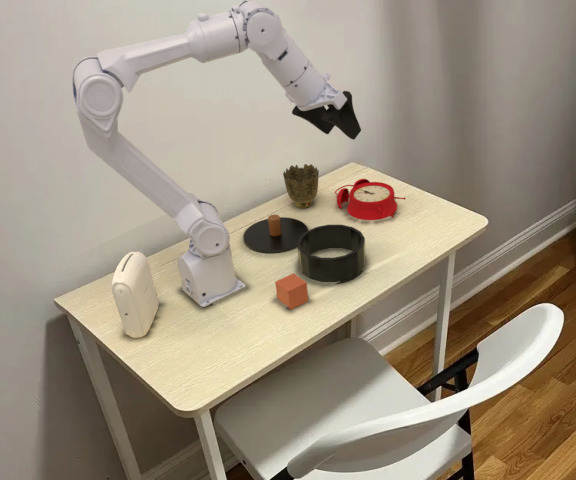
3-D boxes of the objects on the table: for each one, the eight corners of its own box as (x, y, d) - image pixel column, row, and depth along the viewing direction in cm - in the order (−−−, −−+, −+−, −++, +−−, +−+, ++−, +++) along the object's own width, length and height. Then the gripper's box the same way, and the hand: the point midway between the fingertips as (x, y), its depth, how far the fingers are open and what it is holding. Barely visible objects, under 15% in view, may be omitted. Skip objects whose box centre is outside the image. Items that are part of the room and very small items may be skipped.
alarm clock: (377, 212, 134) (324, 177, 141) (372, 237, 139) (321, 202, 146) (412, 193, 139) (359, 159, 145) (406, 217, 144) (355, 184, 150)
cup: (322, 197, 149) (319, 162, 144) (320, 214, 144) (317, 178, 138) (288, 198, 150) (284, 164, 145) (285, 215, 145) (281, 180, 139)
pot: (326, 292, 122) (324, 267, 119) (287, 265, 130) (284, 240, 127) (378, 267, 127) (378, 241, 123) (338, 242, 135) (336, 217, 131)
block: (290, 310, 119) (288, 291, 117) (277, 300, 122) (274, 281, 119) (308, 301, 121) (306, 282, 118) (295, 291, 123) (293, 273, 121)
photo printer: (147, 339, 117) (129, 278, 109) (123, 338, 118) (103, 278, 110) (162, 303, 125) (147, 244, 116) (140, 303, 125) (123, 245, 117)
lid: (267, 263, 131) (264, 242, 128) (231, 238, 140) (228, 217, 137) (321, 238, 136) (320, 217, 133) (284, 215, 145) (282, 194, 142)
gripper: (336, 52, 101) (384, 117, 110) (286, 50, 112) (333, 109, 121) (307, 90, 101) (357, 152, 110) (260, 85, 112) (309, 141, 121)
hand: (343, 132), depth 115 cm, fingers open, 7 cm apart
